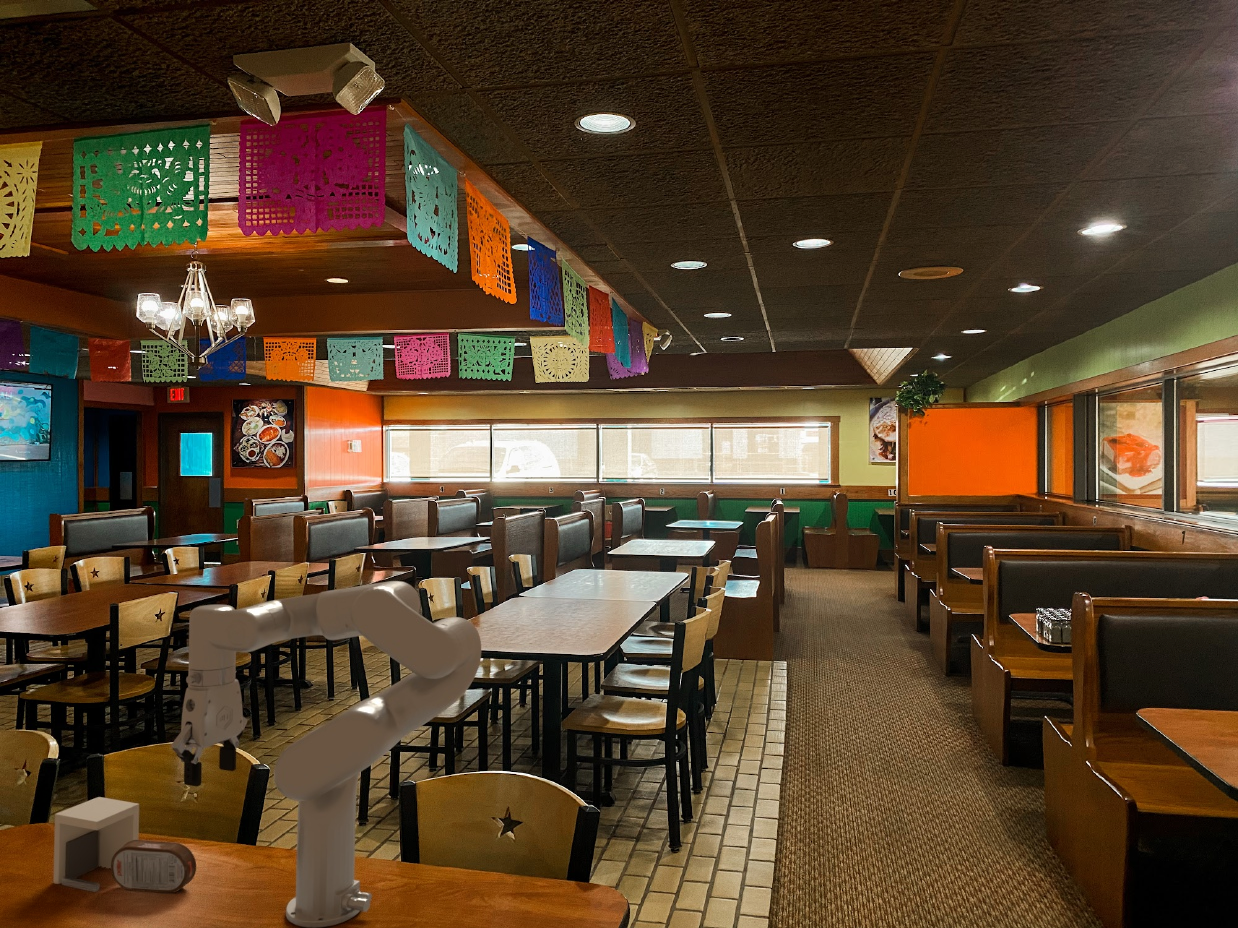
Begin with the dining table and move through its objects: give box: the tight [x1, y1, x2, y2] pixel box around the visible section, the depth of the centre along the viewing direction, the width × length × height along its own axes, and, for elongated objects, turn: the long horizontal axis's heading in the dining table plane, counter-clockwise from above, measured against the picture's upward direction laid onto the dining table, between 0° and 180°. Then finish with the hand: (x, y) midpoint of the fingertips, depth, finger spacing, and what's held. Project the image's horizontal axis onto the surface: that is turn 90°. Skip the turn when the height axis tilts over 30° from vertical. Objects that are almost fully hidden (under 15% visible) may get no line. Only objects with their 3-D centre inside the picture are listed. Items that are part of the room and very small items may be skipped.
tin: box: [111, 839, 197, 894], centre depth 156 cm, size 15×3×8 cm, turn 84°
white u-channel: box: [53, 796, 140, 893], centre depth 161 cm, size 10×9×12 cm
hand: (210, 776), depth 152 cm, fingers open, 7 cm apart
